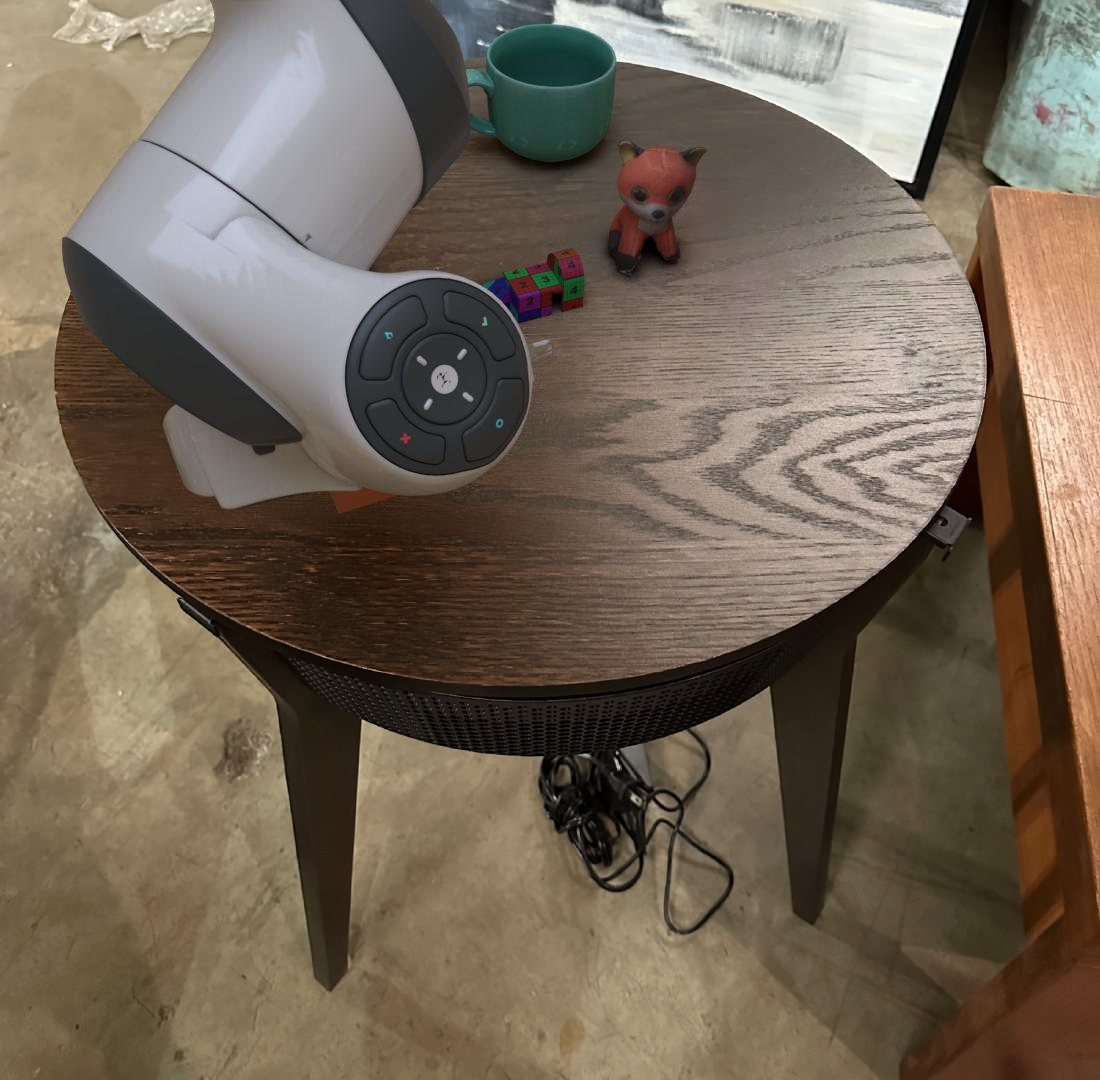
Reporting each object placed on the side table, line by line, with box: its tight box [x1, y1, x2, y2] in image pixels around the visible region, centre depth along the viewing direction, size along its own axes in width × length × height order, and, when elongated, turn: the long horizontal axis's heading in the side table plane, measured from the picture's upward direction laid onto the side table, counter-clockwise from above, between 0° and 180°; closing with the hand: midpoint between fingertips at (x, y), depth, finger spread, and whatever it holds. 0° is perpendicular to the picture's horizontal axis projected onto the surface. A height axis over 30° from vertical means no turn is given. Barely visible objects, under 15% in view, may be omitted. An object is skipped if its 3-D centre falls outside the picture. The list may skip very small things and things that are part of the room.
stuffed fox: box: [607, 140, 709, 277], centre depth 92 cm, size 8×11×12 cm
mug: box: [466, 23, 617, 163], centre depth 103 cm, size 17×13×10 cm
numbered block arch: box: [480, 247, 586, 324], centre depth 90 cm, size 8×5×4 cm
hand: (338, 407), depth 64 cm, fingers closed on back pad, 4 cm apart
